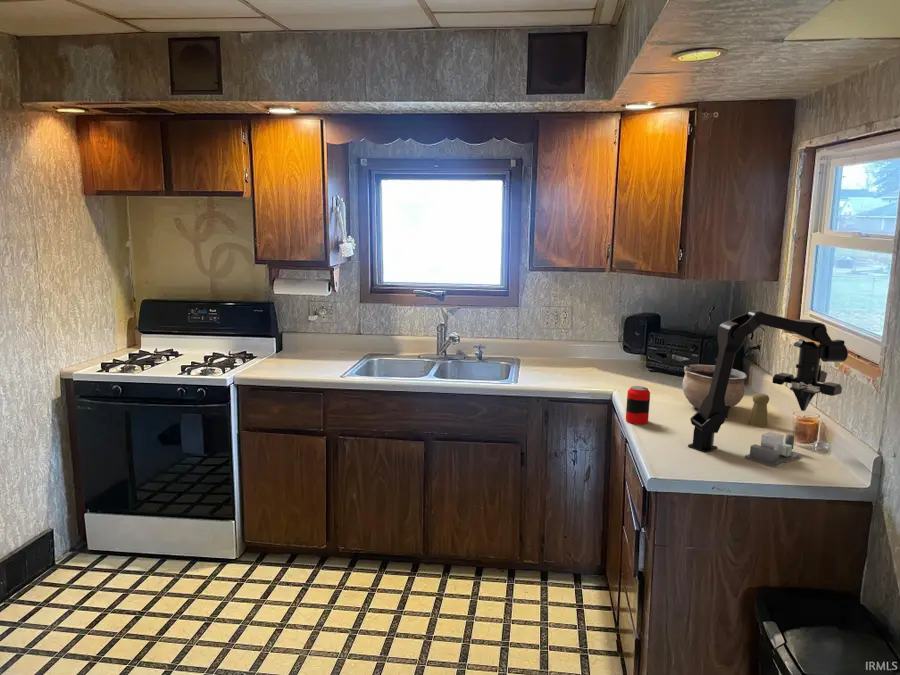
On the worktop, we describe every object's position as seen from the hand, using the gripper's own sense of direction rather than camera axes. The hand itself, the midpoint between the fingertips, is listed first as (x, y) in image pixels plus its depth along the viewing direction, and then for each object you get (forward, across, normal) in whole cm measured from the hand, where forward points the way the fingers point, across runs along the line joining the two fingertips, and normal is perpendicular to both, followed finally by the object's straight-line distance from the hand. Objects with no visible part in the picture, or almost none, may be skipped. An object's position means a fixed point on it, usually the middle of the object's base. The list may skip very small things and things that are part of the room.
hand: (803, 410), depth 212 cm
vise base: (+12, 0, +16) cm, 20 cm away
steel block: (+11, 0, +17) cm, 21 cm away
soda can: (+12, +46, +21) cm, 52 cm away
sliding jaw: (+11, 0, +10) cm, 15 cm away
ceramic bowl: (+12, +40, -15) cm, 44 cm away
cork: (+12, +20, -12) cm, 26 cm away
